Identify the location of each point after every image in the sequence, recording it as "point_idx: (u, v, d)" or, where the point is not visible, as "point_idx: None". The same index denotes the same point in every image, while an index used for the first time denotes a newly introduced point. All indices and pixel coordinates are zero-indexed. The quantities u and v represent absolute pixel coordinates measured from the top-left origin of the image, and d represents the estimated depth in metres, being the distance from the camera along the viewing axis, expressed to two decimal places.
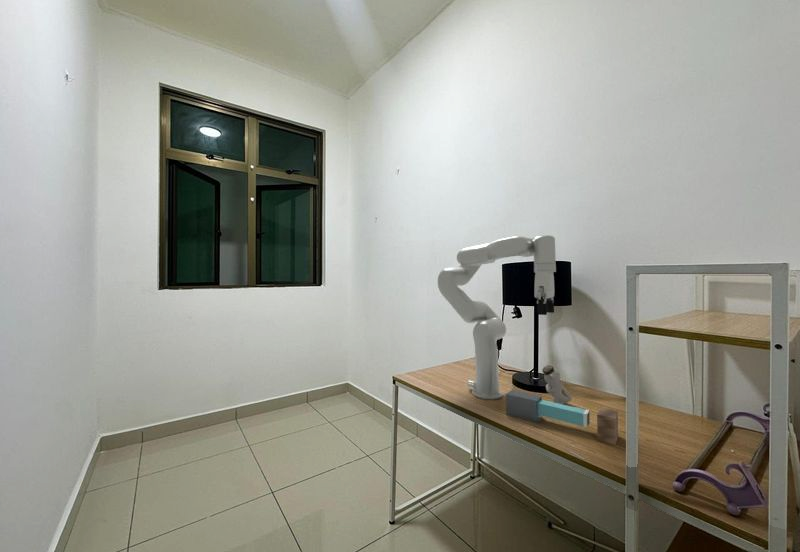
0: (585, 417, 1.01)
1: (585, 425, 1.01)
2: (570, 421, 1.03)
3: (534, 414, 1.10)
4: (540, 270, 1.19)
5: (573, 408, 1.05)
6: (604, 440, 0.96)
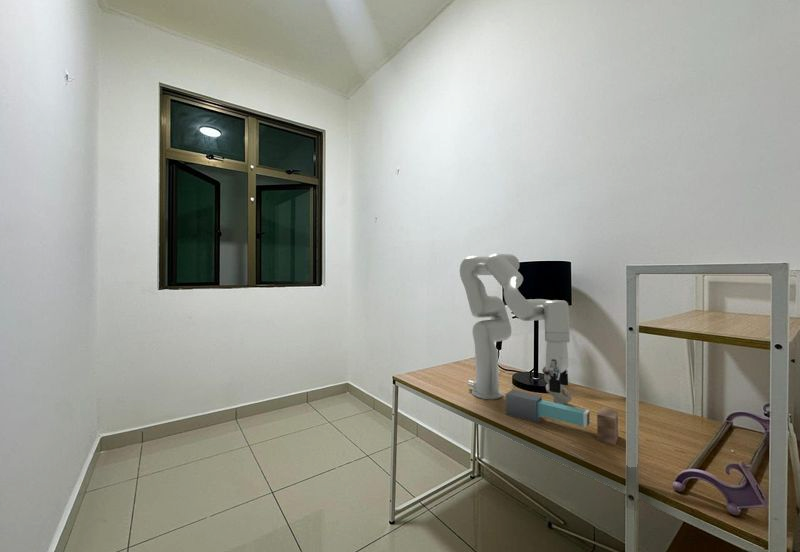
0: (585, 417, 1.01)
1: (585, 425, 1.01)
2: (570, 421, 1.03)
3: (534, 414, 1.10)
4: (552, 340, 1.05)
5: (573, 408, 1.05)
6: (604, 440, 0.96)
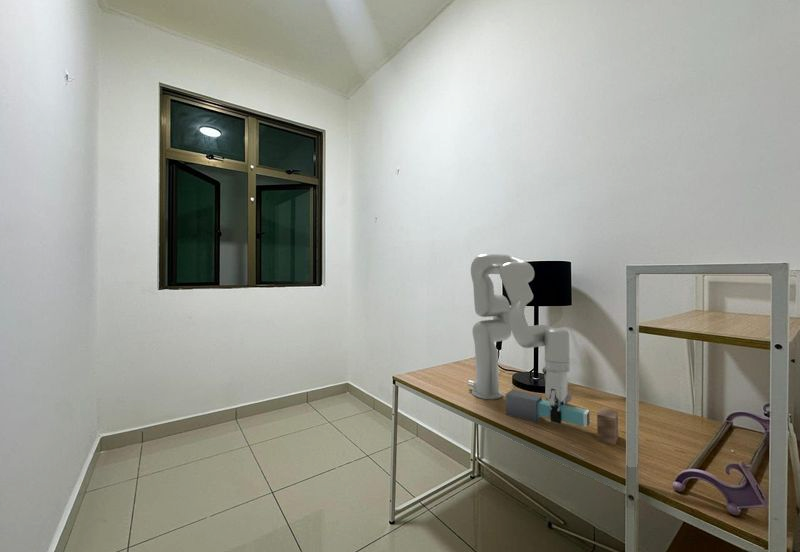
0: (585, 417, 1.01)
1: (585, 425, 1.01)
2: (570, 421, 1.03)
3: (534, 414, 1.10)
4: (552, 369, 1.06)
5: (573, 408, 1.05)
6: (604, 440, 0.96)
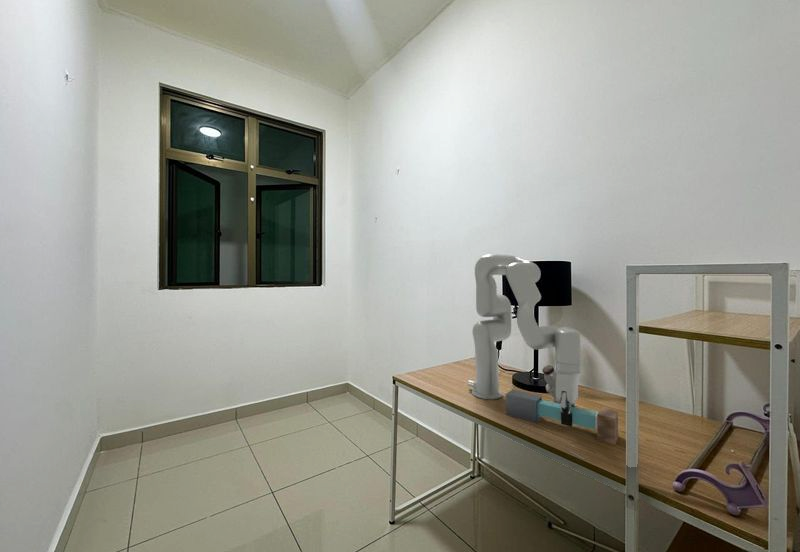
0: None
1: None
2: (581, 424, 1.01)
3: (534, 414, 1.10)
4: (563, 371, 1.03)
5: (585, 411, 1.03)
6: (604, 440, 0.96)
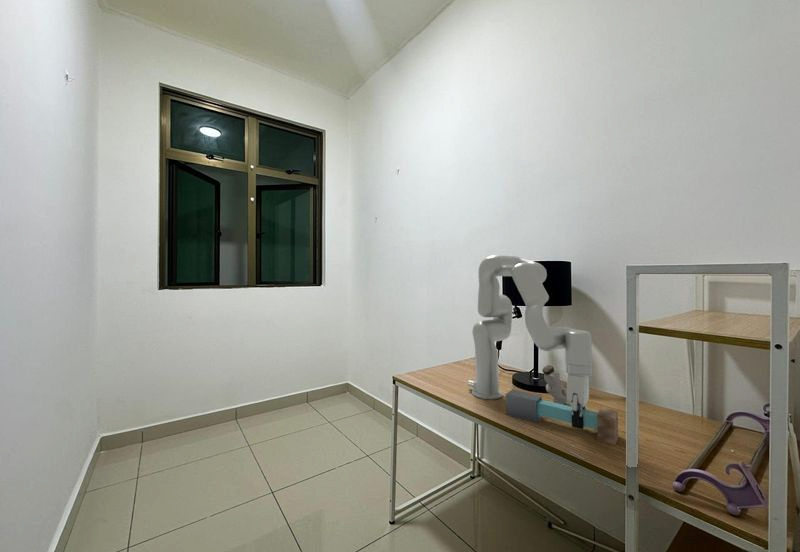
0: None
1: None
2: (593, 427, 0.99)
3: (534, 414, 1.10)
4: (574, 373, 1.01)
5: (596, 414, 1.01)
6: (604, 440, 0.96)
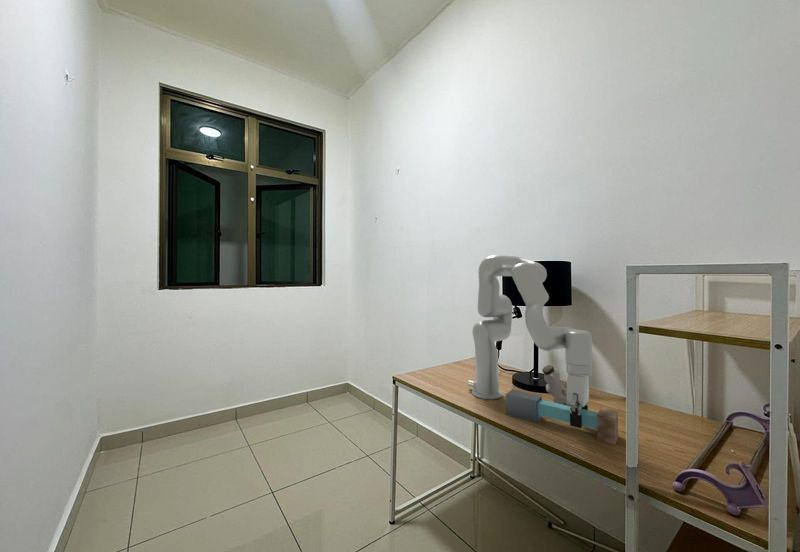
0: None
1: None
2: (593, 427, 0.99)
3: (534, 414, 1.10)
4: (574, 373, 1.01)
5: (596, 414, 1.01)
6: (604, 440, 0.96)
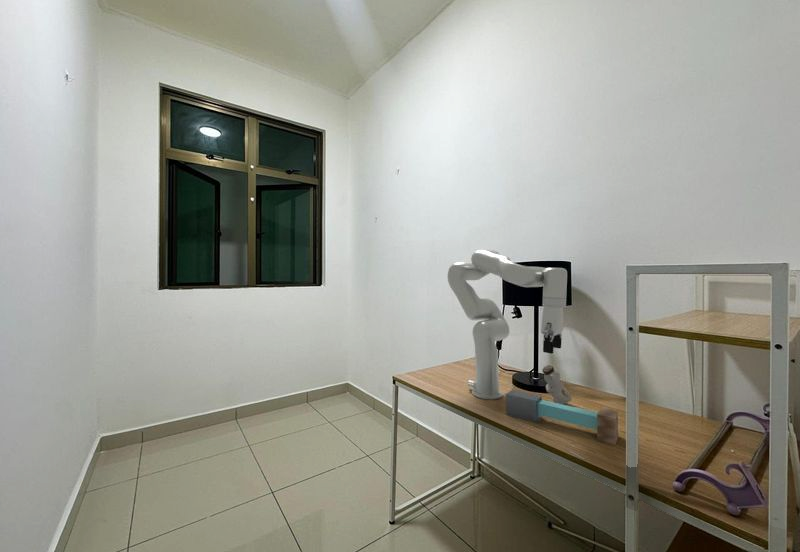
0: None
1: None
2: (593, 427, 0.99)
3: (534, 414, 1.10)
4: (549, 305, 1.11)
5: (596, 414, 1.01)
6: (604, 440, 0.96)
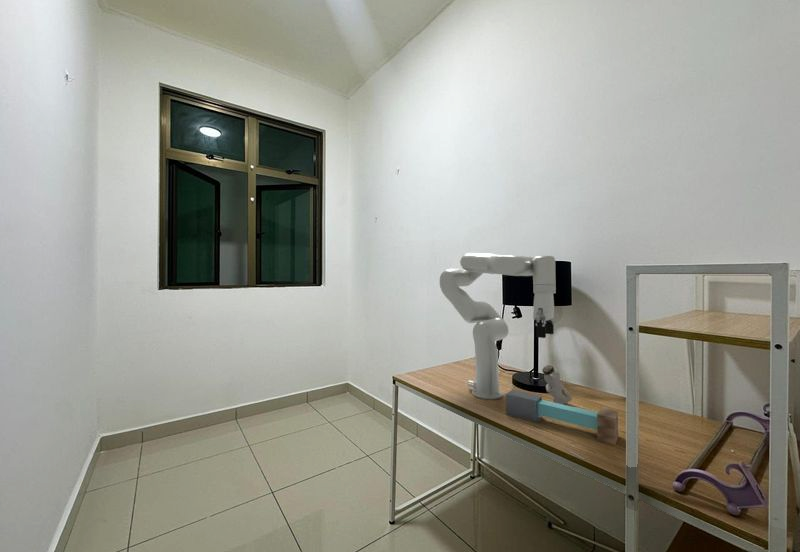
0: None
1: None
2: (593, 427, 0.99)
3: (534, 414, 1.10)
4: (539, 291, 1.16)
5: (596, 414, 1.01)
6: (604, 440, 0.96)
